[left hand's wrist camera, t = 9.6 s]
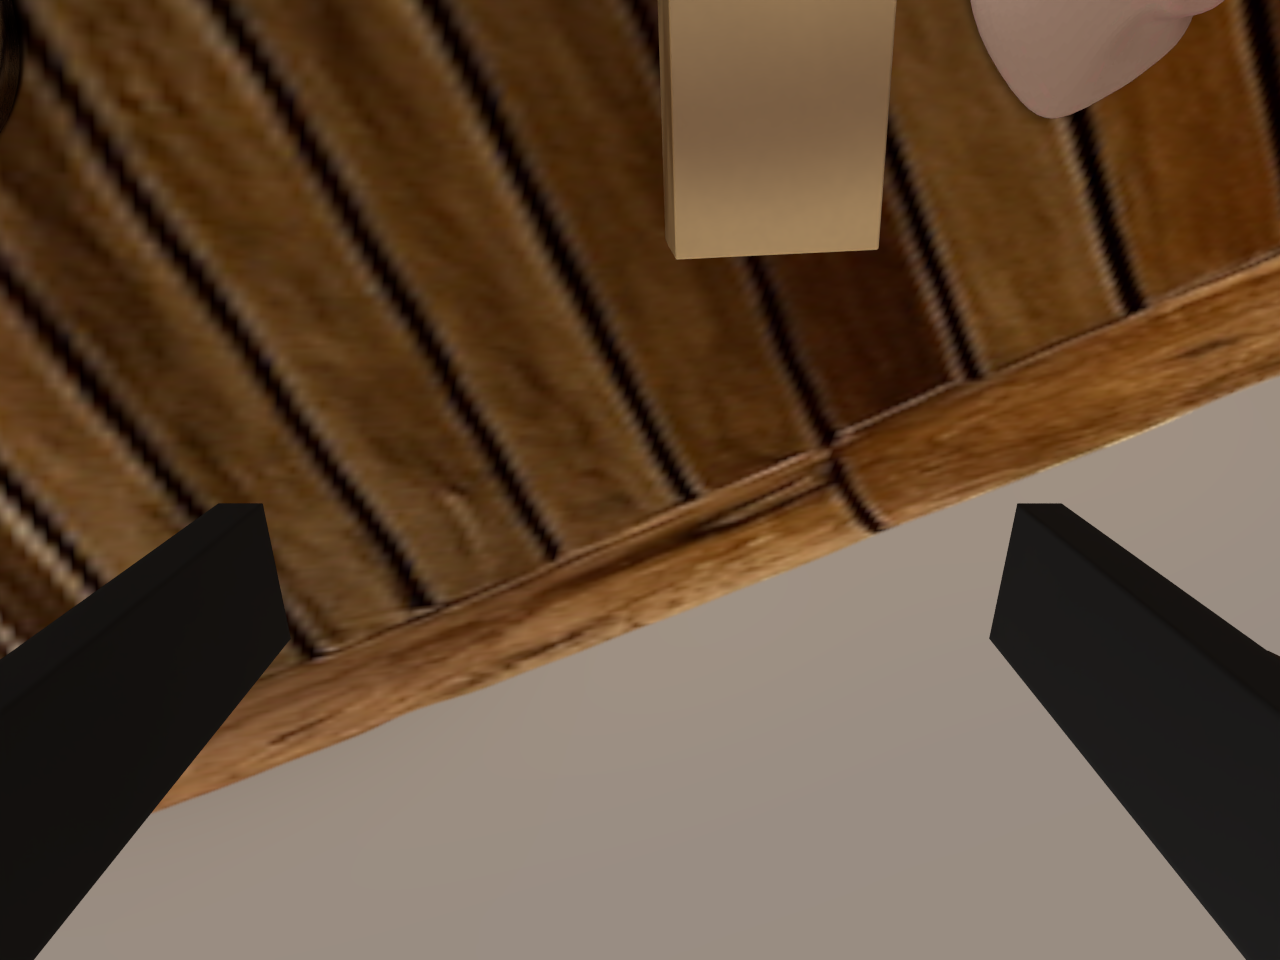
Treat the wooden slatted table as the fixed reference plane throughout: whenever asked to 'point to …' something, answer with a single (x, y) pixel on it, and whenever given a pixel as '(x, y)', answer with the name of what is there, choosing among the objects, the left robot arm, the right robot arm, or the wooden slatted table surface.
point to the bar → (774, 124)
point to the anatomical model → (1078, 45)
